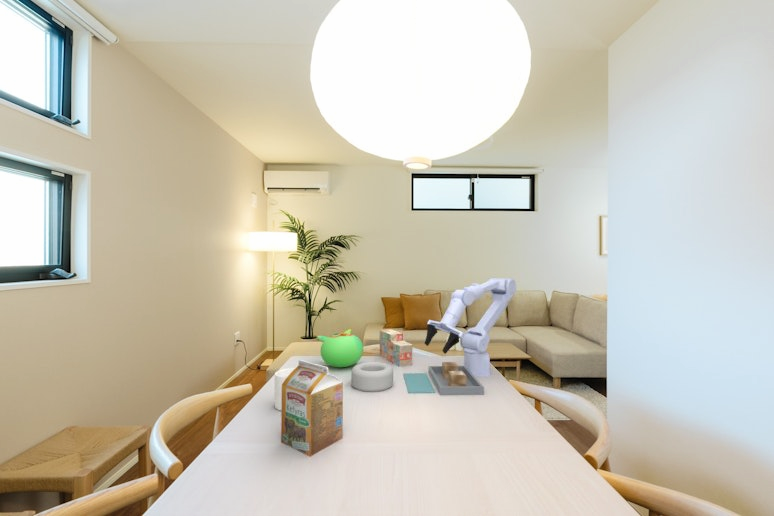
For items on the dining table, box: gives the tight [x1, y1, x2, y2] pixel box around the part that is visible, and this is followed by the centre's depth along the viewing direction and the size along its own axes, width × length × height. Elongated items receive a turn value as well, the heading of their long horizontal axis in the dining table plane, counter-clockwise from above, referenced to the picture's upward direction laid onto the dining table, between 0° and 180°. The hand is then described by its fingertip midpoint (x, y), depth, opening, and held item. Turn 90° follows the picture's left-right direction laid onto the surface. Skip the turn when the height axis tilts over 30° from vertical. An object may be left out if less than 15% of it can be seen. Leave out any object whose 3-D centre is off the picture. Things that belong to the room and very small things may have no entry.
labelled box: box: [448, 371, 466, 386], centre depth 124 cm, size 5×5×5 cm
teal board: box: [402, 372, 436, 394], centre depth 128 cm, size 9×20×1 cm, turn 3°
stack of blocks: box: [379, 328, 413, 368], centre depth 159 cm, size 21×6×12 cm, turn 24°
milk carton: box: [280, 359, 344, 457], centre depth 88 cm, size 11×11×19 cm
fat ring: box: [350, 361, 394, 393], centre depth 128 cm, size 15×15×7 cm
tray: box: [428, 365, 485, 396], centre depth 129 cm, size 15×24×3 cm, turn 2°
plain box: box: [441, 361, 459, 379], centre depth 135 cm, size 5×5×5 cm
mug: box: [274, 367, 295, 412], centre depth 107 cm, size 12×8×10 cm
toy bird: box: [316, 328, 364, 368], centre depth 150 cm, size 18×17×15 cm
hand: (434, 348), depth 128 cm, fingers open, 7 cm apart
